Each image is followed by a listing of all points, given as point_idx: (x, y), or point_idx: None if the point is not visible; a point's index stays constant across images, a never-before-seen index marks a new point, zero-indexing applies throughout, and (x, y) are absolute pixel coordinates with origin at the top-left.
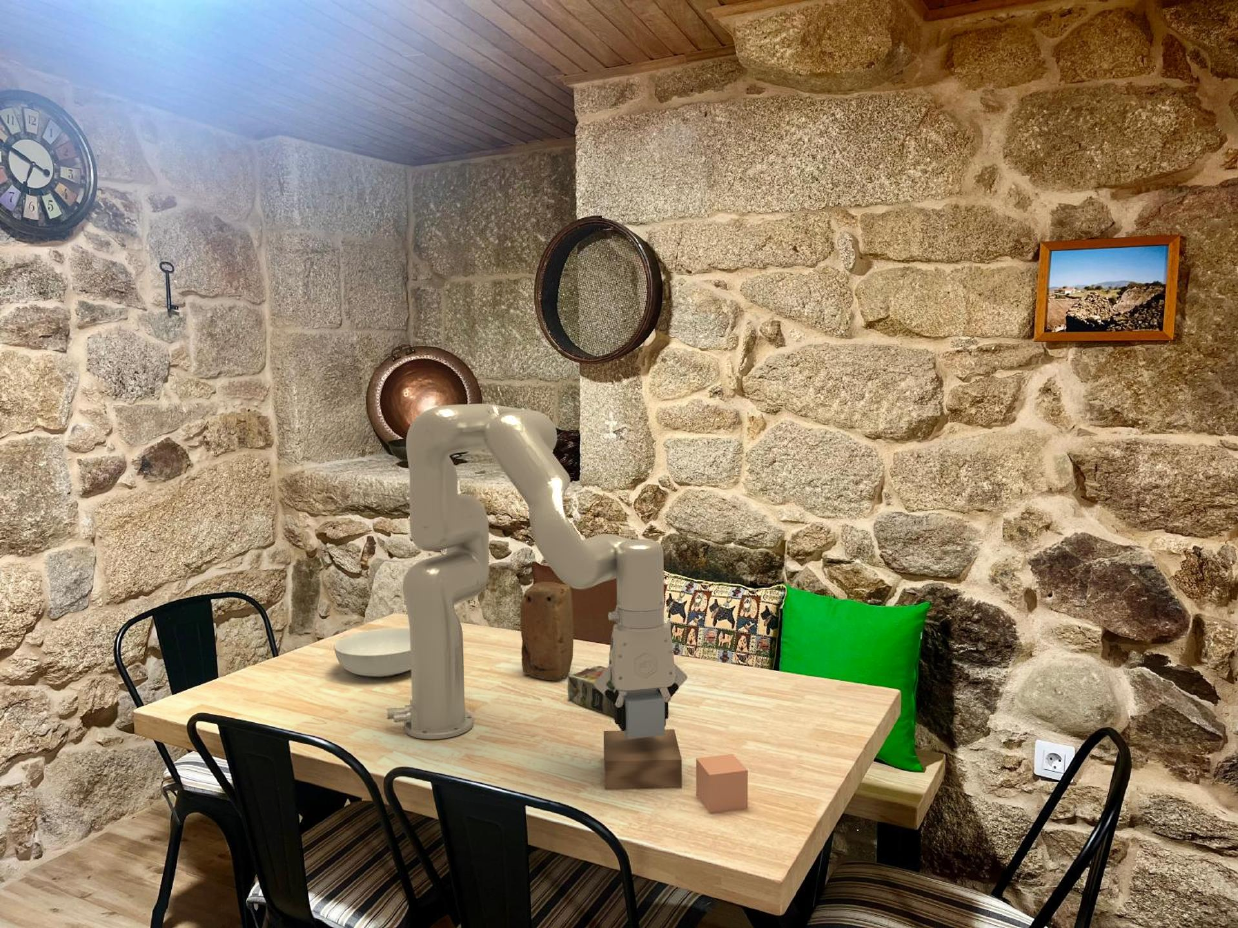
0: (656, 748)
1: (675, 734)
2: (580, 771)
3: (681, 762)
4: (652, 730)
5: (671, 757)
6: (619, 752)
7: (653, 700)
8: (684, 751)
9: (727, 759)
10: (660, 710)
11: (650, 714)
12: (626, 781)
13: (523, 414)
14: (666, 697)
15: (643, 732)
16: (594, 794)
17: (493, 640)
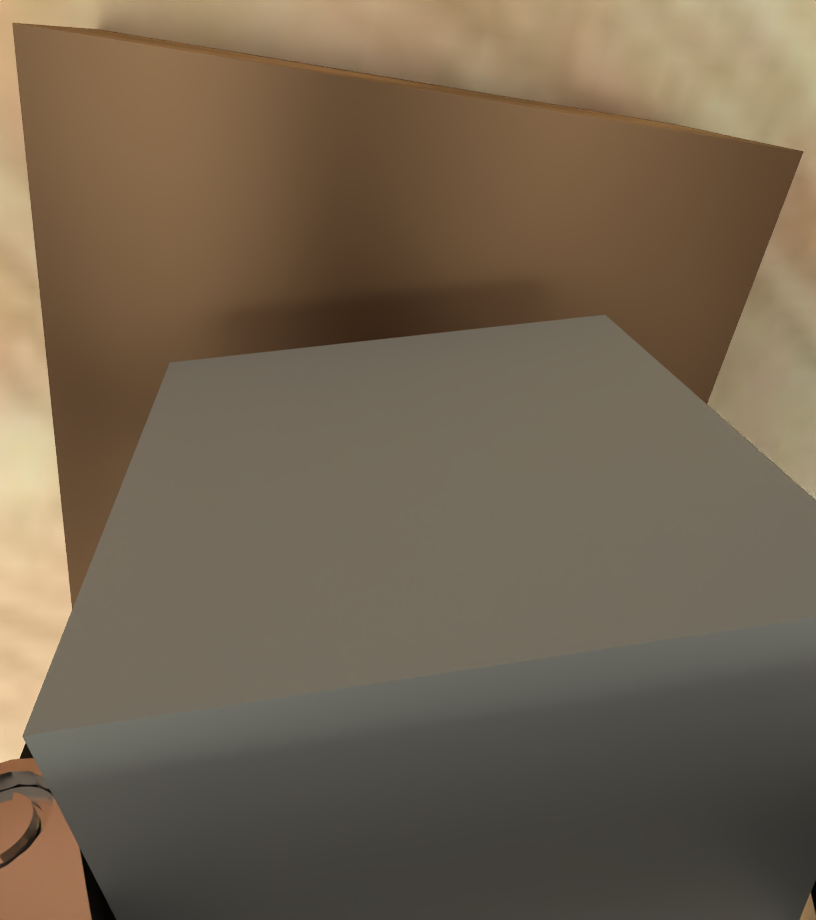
0: (271, 350)
1: (71, 590)
2: (727, 409)
3: (28, 24)
4: (325, 372)
5: (135, 106)
6: (615, 317)
7: (320, 675)
8: (54, 586)
9: None
10: (179, 535)
11: (368, 484)
12: (550, 105)
13: None
14: (7, 843)
15: (440, 356)
16: (771, 57)
17: None
